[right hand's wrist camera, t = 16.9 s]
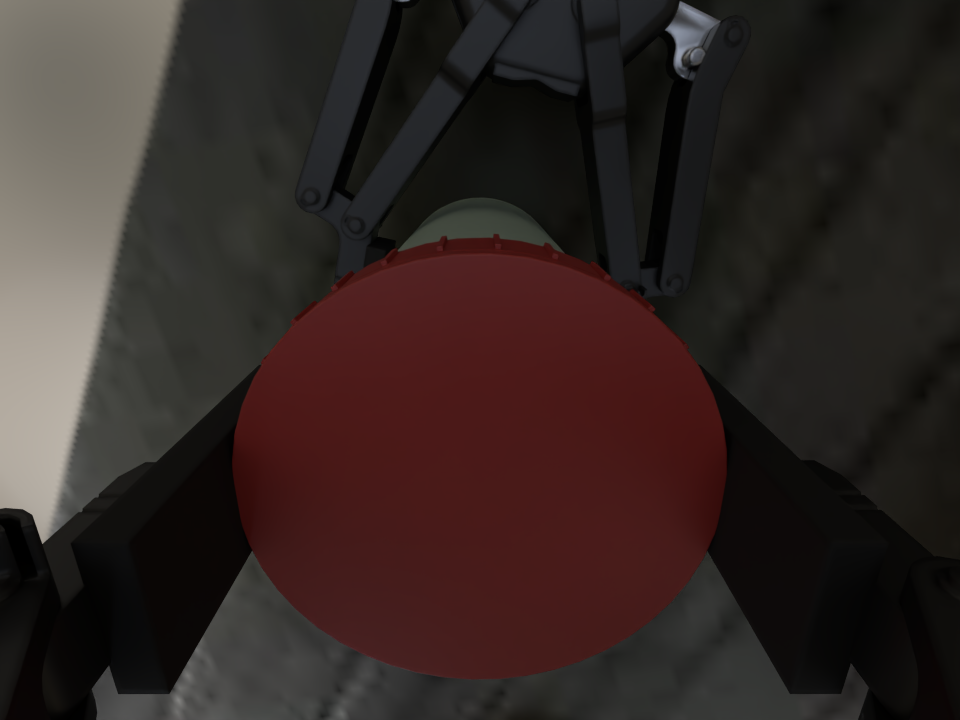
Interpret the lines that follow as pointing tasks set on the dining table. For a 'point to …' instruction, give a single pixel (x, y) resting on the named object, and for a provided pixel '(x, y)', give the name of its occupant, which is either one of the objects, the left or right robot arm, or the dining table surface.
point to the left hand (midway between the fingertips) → (456, 406)
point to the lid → (479, 460)
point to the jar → (479, 223)
